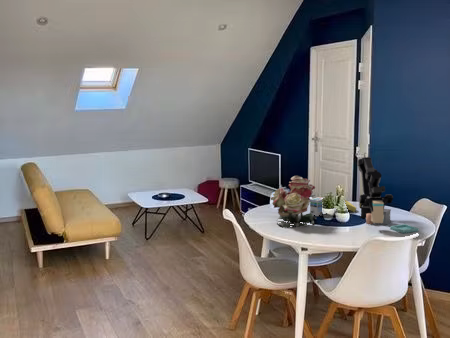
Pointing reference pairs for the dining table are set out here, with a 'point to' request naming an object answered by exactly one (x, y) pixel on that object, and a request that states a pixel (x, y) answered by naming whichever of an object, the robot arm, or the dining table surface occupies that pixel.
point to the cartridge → (369, 218)
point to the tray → (404, 228)
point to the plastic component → (350, 206)
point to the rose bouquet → (294, 202)
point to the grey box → (385, 217)
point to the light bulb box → (316, 206)
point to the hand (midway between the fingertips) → (377, 211)
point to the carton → (377, 212)
